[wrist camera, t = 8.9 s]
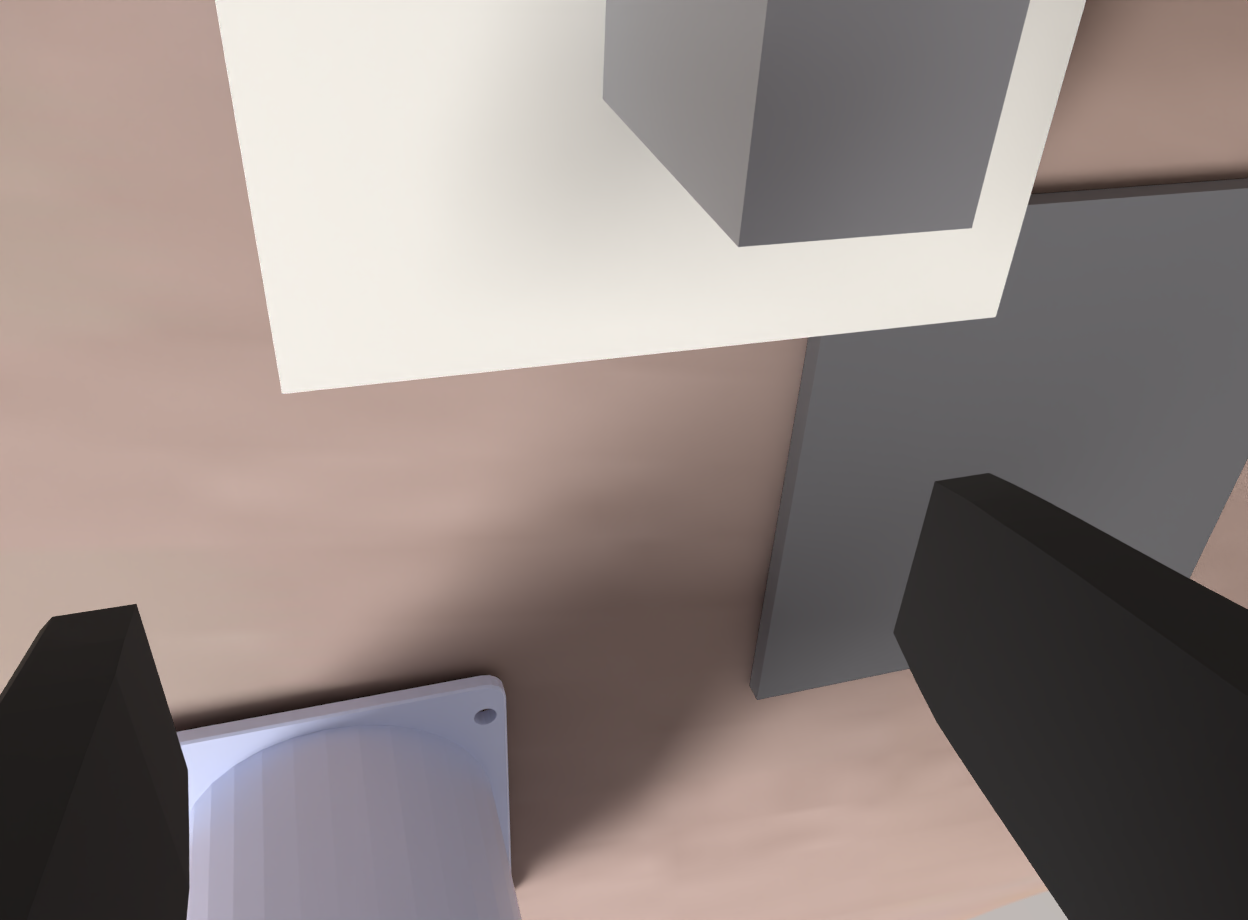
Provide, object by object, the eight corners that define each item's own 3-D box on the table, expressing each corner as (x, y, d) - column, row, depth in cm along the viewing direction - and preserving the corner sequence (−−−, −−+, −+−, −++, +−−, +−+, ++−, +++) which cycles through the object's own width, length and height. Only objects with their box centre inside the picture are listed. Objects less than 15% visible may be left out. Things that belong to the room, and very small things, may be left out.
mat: (1159, 602, 30) (1171, 614, 30) (749, 685, 27) (757, 699, 26) (1364, 169, 23) (1384, 177, 22) (830, 208, 19) (842, 219, 19)
